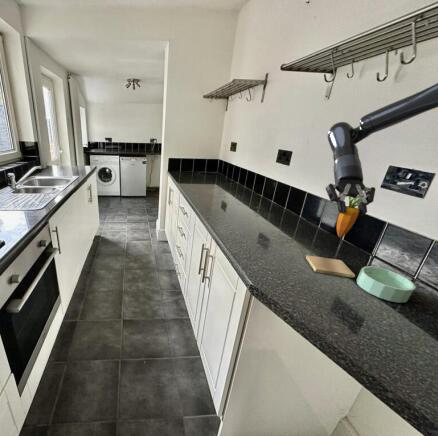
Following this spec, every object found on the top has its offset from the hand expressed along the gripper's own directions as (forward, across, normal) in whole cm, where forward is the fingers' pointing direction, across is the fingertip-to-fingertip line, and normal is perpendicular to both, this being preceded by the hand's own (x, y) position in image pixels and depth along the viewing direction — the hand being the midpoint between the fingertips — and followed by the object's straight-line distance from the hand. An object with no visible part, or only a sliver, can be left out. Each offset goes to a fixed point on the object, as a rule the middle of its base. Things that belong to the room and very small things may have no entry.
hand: (352, 213), depth 76 cm
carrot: (+6, 0, +8) cm, 10 cm away
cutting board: (+14, 0, +17) cm, 22 cm away
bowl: (+22, +11, +10) cm, 26 cm away
